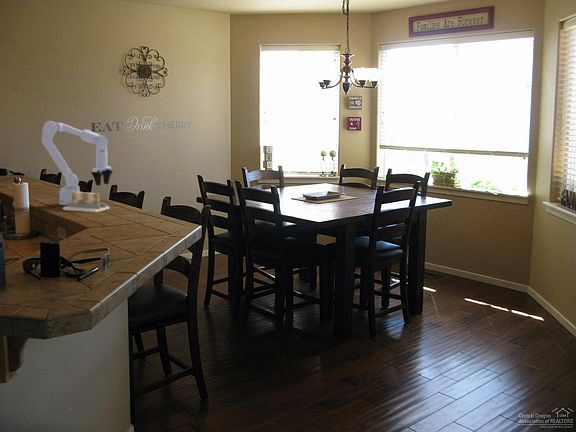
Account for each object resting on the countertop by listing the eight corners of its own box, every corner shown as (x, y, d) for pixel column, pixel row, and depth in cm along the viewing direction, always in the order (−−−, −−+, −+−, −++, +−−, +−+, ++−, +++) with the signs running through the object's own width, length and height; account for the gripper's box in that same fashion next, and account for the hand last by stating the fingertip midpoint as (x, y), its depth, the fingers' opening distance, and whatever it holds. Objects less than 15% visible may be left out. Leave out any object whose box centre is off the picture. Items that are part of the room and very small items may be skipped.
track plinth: (63, 209, 290) (62, 203, 290) (77, 206, 302) (77, 200, 301) (95, 212, 286) (95, 206, 286) (109, 208, 297) (109, 202, 297)
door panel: (72, 206, 294) (71, 192, 293) (74, 205, 297) (74, 191, 295) (97, 208, 291) (97, 193, 290) (99, 207, 293) (99, 193, 292)
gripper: (100, 159, 303) (101, 186, 305) (115, 158, 317) (116, 183, 319) (88, 159, 305) (89, 185, 307) (104, 157, 319) (104, 183, 321)
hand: (102, 184), depth 313 cm, fingers open, 7 cm apart
